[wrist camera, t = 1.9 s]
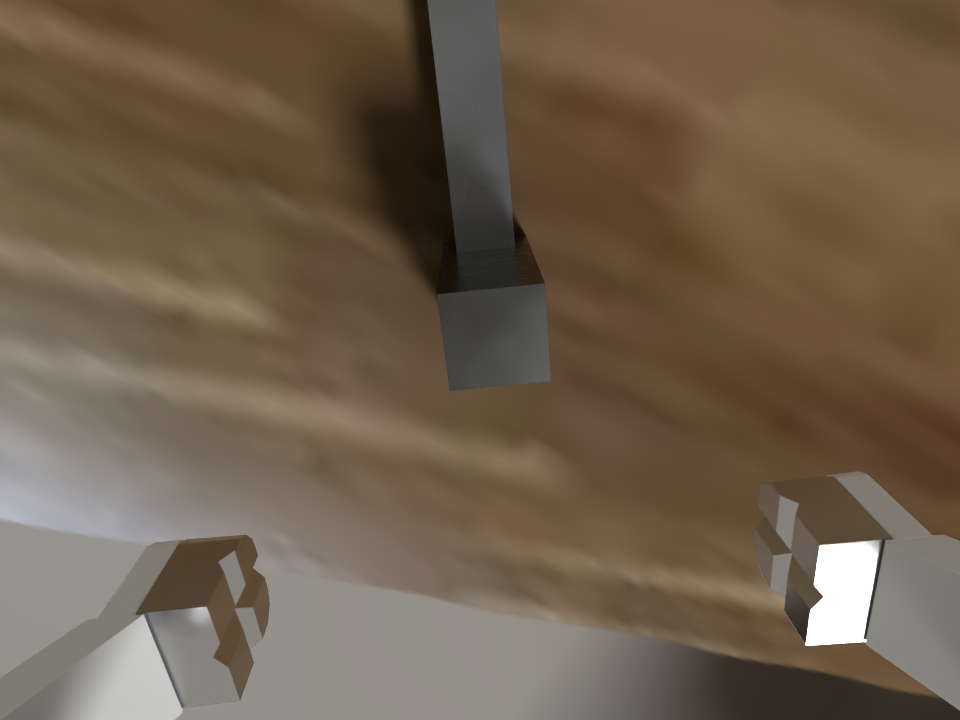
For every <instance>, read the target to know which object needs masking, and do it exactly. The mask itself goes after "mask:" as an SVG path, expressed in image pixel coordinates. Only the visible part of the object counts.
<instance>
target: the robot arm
mask: <svg viewBox="0 0 960 720" xmlns="http://www.w3.org/2000/svg"><path fill="white" fill-rule="evenodd" d="M758 507H759V508H760V509H761V511H762V512H763V514H764V515H765V518H764V519H763V520H762V521H761V523H760V524H759V525H758V526H757V527H756V528H755V551H756V556H757V562H758V565H759V568H760V570H761V573H762V575H763V577H764V579H765V580H766V582H767V584H768V585H769V587H770V589H772V590H774V591H775V592H777V593H779V594H781V595H782V596H784V597H785V606H784V611H785V613H786V615H787V616H788V618H789V619H790V621H791V622H792V624H793V626H794V627H795V629H796V630H797V632H798V634H799V635H800V637H801V638H802V640H803V641H804V643H805V645H821V644H835V643H849V642H864V641H866V643H865V644H866V645H867V646H869V647H870V648H871V649H873V650H874V651H876V652H877V653H879V654H880V655H881V656H883V657H884V658H886V659H887V660H889V661H890V662H891V663H893V664H894V665H896V666H897V667H899V668H900V669H901V670H903V671H904V672H906V673H907V674H909V675H910V676H911V677H913V678H914V679H916V680H917V681H919V682H920V683H921V684H923V685H924V686H926V687H927V688H929V689H930V690H931V691H933V692H934V693H936V694H937V695H939V696H940V697H941V698H943V699H944V700H946V701H947V702H949V703H950V704H951V705H953V706H954V707H956V708H957V709H959V710H960V541H958V540H955V539H953V538H950V537H948V536H945V535H935V536H933V535H932V534H931V533H929V532H928V531H927V530H926V529H925V528H924V527H923V526H922V525H921V524H920V523H919V522H918V521H917V520H916V519H915V518H913V517H912V516H911V515H910V514H909V513H908V512H907V511H906V510H905V509H904V508H903V507H902V506H901V505H900V504H899V503H897V502H896V501H895V500H894V499H893V498H892V497H891V496H890V495H889V494H888V493H887V492H886V491H885V490H884V489H883V488H881V487H880V486H879V485H878V484H877V483H876V482H875V481H874V480H873V479H872V478H871V477H870V476H869V475H867V474H865V473H862V472H859V471H858V472H850V473H842V474H835V475H827V476H826V477H819V478H809V479H800V480H790V481H781V482H772V483H763V484H762V486H761V488H760V491H759V497H758ZM257 556H258V554H257V551H256V548H255V546H254V543H253V540H252V538H250V537H248V536H247V535H239V536H226V537H213V538H201V539H188V540H185V541H183V540H178V541H167V542H157V543H153V544H151V545H149V546H147V547H146V549H145V550H144V551H143V553H142V555H141V556H140V557H139V559H138V560H137V562H136V563H135V565H134V566H133V567H132V569H131V570H130V572H129V573H128V575H127V576H126V578H125V579H124V581H123V582H122V584H121V585H120V587H119V588H118V589H117V591H116V592H115V594H114V595H113V597H112V598H111V600H110V601H109V602H108V604H107V605H106V607H105V608H104V610H103V611H102V613H101V614H100V616H99V617H98V618H97V619H92V620H86V621H85V622H83V623H82V624H80V625H79V626H77V627H76V628H74V629H73V630H71V631H70V632H68V633H67V634H65V635H64V636H62V637H61V638H59V639H58V640H56V641H55V642H53V643H52V644H50V645H49V646H47V647H46V648H44V649H43V650H41V651H40V652H38V653H37V654H35V655H34V656H32V657H31V658H29V659H28V660H27V661H25V662H23V663H22V664H21V665H19V666H17V667H16V668H14V669H13V670H11V671H10V672H8V673H7V674H5V675H4V676H3V677H1V678H0V720H175V719H176V718H177V717H178V716H179V715H180V714H181V713H182V712H183V710H182V708H187V707H196V706H203V705H211V704H219V703H227V702H235V701H240V700H241V697H242V694H243V692H244V689H245V686H246V683H247V681H248V678H249V675H250V672H251V669H252V667H253V664H254V661H253V658H252V655H251V652H250V650H251V649H252V648H253V647H254V646H255V645H256V644H257V643H258V642H259V641H261V640H262V639H263V636H264V633H265V630H266V627H267V624H268V615H269V605H270V604H269V594H268V588H267V585H266V582H265V578H264V577H263V576H262V575H261V574H259V573H258V572H257V571H256V570H254V569H253V566H254V564H255V561H256V559H257Z"/></svg>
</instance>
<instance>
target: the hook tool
mask: <svg viewBox="0 0 960 720" xmlns="http://www.w3.org/2000/svg"><path fill="white" fill-rule="evenodd" d="M427 3H428V11H429V20H430V28H431V37H432V45H433V54H434V62H435V71H436V79H437V88H438V96H439V105H440V113H441V122H442V131H443V139H444V148H445V156H446V165H447V173H448V182H449V190H450V199H451V207H452V216H453V224H454V233H455V241H456V243H450V244H444V246H443V253H442V260H441V268H440V275H439V282H438V290H437V299H438V307H439V314H440V322H441V329H442V337H443V344H444V352H445V359H446V367H447V374H448V381H449V389H450V391H454V390H464V389H474V388H485V387H495V386H505V385H515V384H525V383H535V382H545V381H551V376H550V360H549V344H548V328H547V312H546V295H545V283H544V280H543V278H542V275H541V273H540V270H539V268H538V265H537V262H536V260H535V257H534V255H533V252H532V250H531V247H530V245H529V242H528V240H527V237H526V236H517V237H514V227H513V214H512V202H511V189H510V177H509V164H508V151H507V139H506V126H505V114H504V101H503V88H502V76H501V63H500V51H499V38H498V26H497V13H496V0H427Z"/></svg>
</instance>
